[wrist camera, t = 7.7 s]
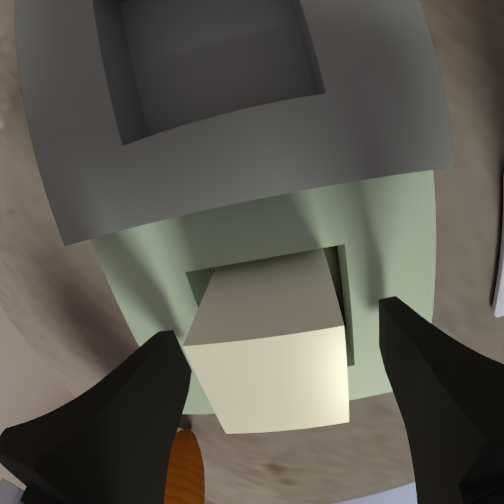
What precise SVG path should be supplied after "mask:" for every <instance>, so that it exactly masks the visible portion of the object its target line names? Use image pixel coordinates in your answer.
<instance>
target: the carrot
mask: <svg viewBox="0 0 504 504" xmlns="http://www.w3.org/2000/svg"><path fill="white" fill-rule="evenodd" d="M204 494H205V486H204V466H203V461H202V456H201V451H200V448H199V445H198V442H197V439H196V436H195V434H194V433H193V432H192V431H191V430H190V429H188V428H187V429H184V430H181V431H178V432H177V433H176V435H175V438H174V441H173V445H172V449H171V453H170V459H169V465H168V470H167V478H166V486H165V496H164V504H204Z"/></svg>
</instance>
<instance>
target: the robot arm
mask: <svg viewBox="0 0 504 504" xmlns="http://www.w3.org/2000/svg"><path fill="white" fill-rule="evenodd" d="M492 313H493V314H494V315H495V316H496V317H501V316H503V315H504V174H503V224H502V239H501V250H500V259H499V268H498V275H497V282H496V288H495V294H494V300H493V305H492ZM379 348H380V352H381V356H382V360H383V364H384V368H385V371H386V374H387V377H388V379H389V382H390V385H391V387H392V390H393V393H394V395H395V398H396V401H397V403H398V406H399V409H400V412H401V415H402V417H403V420H404V424H405V427H406V431H407V435H408V440H409V445H410V450H411V456H412V462H413V468H414V475H415V483H416V491H417V502H418V504H504V364H502V363H499V362H497V361H495V360H492V359H490V358H488V357H486V356H483V355H481V354H479V353H478V352H476V351H474V350H472V349H470V348H468V347H466V346H465V345H463V344H461V343H459V342H458V341H456V340H455V339H453V338H452V337H450V336H448V335H447V334H445V333H444V332H442V331H441V330H440V329H438V328H437V327H435V326H434V325H432V324H431V323H430V322H428V321H427V320H426V319H424V318H423V317H422V316H421V315H419V314H418V313H417V312H415V311H414V310H413V309H412V308H410V307H409V306H408V305H407V304H405V303H404V302H403V301H402V300H400V299H399V298H398V297H396V296H393V297H388V298H383V299H379ZM191 373H192V370H191V368H190V366H189V363H188V361H187V359H186V357H185V355H184V353H183V351H182V348H181V346H180V344H179V342H178V340H177V337H176V335H175V333H174V331H173V330H168V331H159V332H157V333H156V334H155V335H153V336H152V337H151V338H150V339H148V340H147V341H146V342H145V343H144V344H143V345H142V346H140V347H139V348H138V349H137V350H136V351H135V352H134V353H133V354H132V355H130V356H129V357H128V358H127V359H126V360H125V361H124V362H123V363H121V364H120V365H119V366H118V367H117V368H116V369H114V370H113V371H112V372H111V373H110V374H108V375H107V376H106V377H105V378H103V379H102V380H101V381H100V382H98V383H97V384H96V385H94V386H93V387H92V388H90V389H89V390H87V391H86V392H84V393H83V394H81V395H80V396H78V397H77V398H75V399H74V400H72V401H70V402H69V403H66V404H65V405H63V406H61V407H60V408H58V409H56V410H54V411H52V412H50V413H48V414H45V415H43V416H41V417H38V418H36V419H33V420H31V421H28V422H25V423H22V424H19V425H16V426H12V427H9V428H6V429H5V430H4V431H3V433H2V434H1V436H0V463H1V464H2V465H3V466H4V467H5V468H6V469H7V470H9V471H10V472H11V473H12V474H13V475H14V476H15V477H16V478H18V479H19V480H20V481H21V482H22V483H24V484H25V485H26V486H27V487H26V489H25V491H23V490H22V489H20V488H19V487H17V486H16V485H14V484H12V483H10V482H8V481H7V480H5V479H1V480H0V504H164V496H165V486H166V478H167V470H168V465H169V459H170V453H171V449H172V445H173V441H174V438H175V435H176V431H177V428H178V425H179V422H180V419H181V416H182V413H183V409H184V406H185V403H186V400H187V396H188V392H189V386H190V380H191Z"/></svg>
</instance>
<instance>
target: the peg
mask: <svg viewBox="0 0 504 504" xmlns="http://www.w3.org/2000/svg"><path fill="white" fill-rule="evenodd" d="M183 348H184V350H185V352H186V354H187V357H188V359H189V361H190V363H191V365H192V367H193V369H194V372H195V374H196V376H197V378H198V380H199V382H200V384H201V386H202V388H203V390H204V392H205V394H206V396H207V398H208V400H209V402H210V404H211V406H212V408H213V410H214V412H215V414H216V416H217V418H218V419H219V421H220V423H221V425H222V427H223V429H224V431H225V432H226V434H235V433H258V432H273V431H285V430H295V429H304V428H313V427H320V426H327V425H334V424H340V423H346V422H349V395H348V373H347V356H346V342H345V329H344V323H343V319H342V315H341V311H340V307H339V303H338V299H337V296H336V292H335V288H334V285H333V281H332V277H331V274H330V270H329V267H328V263H327V260H326V256H325V253H324V249H323V248H320V249H315V250H309V251H303V252H298V253H292V254H287V255H281V256H275V257H270V258H264V259H258V260H253V261H247V262H241V263H235V264H230V265H224V266H218V267H216V268H215V270H214V273H213V275H212V277H211V280H210V282H209V284H208V287H207V289H206V291H205V294H204V296H203V299H202V301H201V303H200V306H199V308H198V310H197V313H196V315H195V318H194V320H193V323H192V325H191V327H190V330H189V332H188V335H187V337H186V340H185V342H184V344H183Z"/></svg>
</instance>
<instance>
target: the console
mask: <svg viewBox="0 0 504 504" xmlns="http://www.w3.org/2000/svg"><path fill="white" fill-rule="evenodd" d="M15 31H16V46H17V57H18V66H19V74H20V81H21V88H22V95H23V100H24V106H25V111H26V117H27V122H28V126H29V131H30V135H31V140H32V144H33V148H34V152H35V156H36V160H37V163H38V167H39V171H40V174H41V178H42V181H43V184H44V188H45V191H46V194H47V197H48V200H49V203H50V206H51V209H52V212H53V215H54V218H55V221H56V224H57V226H58V229H59V232H60V235H61V237H62V240H63V242H64V245H65V246H66V245H70V244H73V243H77V242H80V241H84V240H88V239H91V241H92V243H93V246H94V249H95V251H96V254H97V256H98V259H99V261H100V264H101V266H102V268H103V271H104V273H105V276H106V278H107V280H108V283H109V285H110V287H111V289H112V292H113V294H114V296H115V298H116V300H117V303H118V305H119V307H120V309H121V311H122V313H123V315H124V317H125V320H126V322H127V324H128V326H129V328H130V330H131V332H132V334H133V336H134V338H135V340H136V341H137V343H138V345H139V347H140V346H142V345H143V344H144V343H145V342H146V341H147V340H148V339H150V338H151V337H152V336H153V335H155V334H156V333H157V332H159V331H168V330H173V331H174V333H175V335H176V337H177V340H178V342H179V344H180V346H181V348H182V351H183V353H184V355H185V357H186V359H187V361H188V363H189V366H190V368H191V370H192V373H191V380H190V386H189V392H188V396H187V400H186V403H185V406H184V409H183V413H182V414H215V412H214V410H213V408H212V406H211V404H210V402H209V400H208V398H207V396H206V394H205V392H204V390H203V388H202V386H201V384H200V382H199V380H198V378H197V376H196V374H195V372H194V369H193V367H192V365H191V363H190V361H189V359H188V357H187V354H186V352H185V350H184V348H183V344H184V342H185V340H186V337H187V335H188V332H189V330H190V327H191V325H192V323H193V320H194V318H195V315H196V313H197V310H198V308H199V306H200V303H201V301H202V299H203V296H204V294H205V291H206V289H207V287H208V284H209V282H210V280H211V277H212V275H211V272H210V269H209V268H212V267H218V266H224V265H230V264H235V263H241V262H247V261H253V260H258V259H264V258H270V257H275V256H281V255H287V254H292V253H298V252H303V251H309V250H315V249H320V248H326V247H331V246H337V250H338V258H339V266H340V274H341V283H342V292H343V302H344V312H345V323H346V329H345V342H346V356H347V373H348V395H349V400H354V399H359V398H364V397H369V396H374V395H378V394H383V393H387V392H392V391H393V390H392V387H391V385H390V382H389V379H388V377H387V374H386V371H385V368H384V364H383V360H382V356H381V352H380V348H379V299H383V298H388V297H393V296H396V297H398V298H399V299H400V300H402V301H403V302H404V303H405V304H407V305H408V306H409V307H410V308H412V309H413V310H414V311H415V312H417V313H418V314H419V315H421V316H422V317H423V318H424V319H426V320H427V321H428V322H430V323H431V324H432V315H433V303H434V290H435V271H436V207H435V189H434V175H433V170H436V169H444V168H452V167H455V165H454V154H453V144H452V136H451V128H450V121H449V114H448V108H447V102H446V96H445V91H444V86H443V81H442V77H441V72H440V68H439V63H438V59H437V55H436V52H435V48H434V44H433V41H432V37H431V34H430V30H429V27H428V24H427V21H426V18H425V14H424V12H423V9H422V6H421V3H420V0H15Z"/></svg>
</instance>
